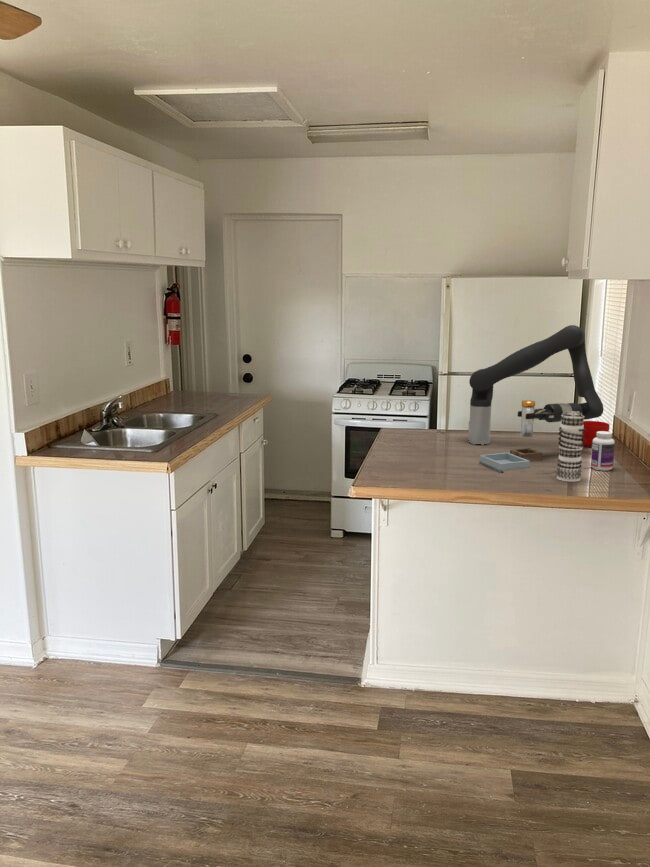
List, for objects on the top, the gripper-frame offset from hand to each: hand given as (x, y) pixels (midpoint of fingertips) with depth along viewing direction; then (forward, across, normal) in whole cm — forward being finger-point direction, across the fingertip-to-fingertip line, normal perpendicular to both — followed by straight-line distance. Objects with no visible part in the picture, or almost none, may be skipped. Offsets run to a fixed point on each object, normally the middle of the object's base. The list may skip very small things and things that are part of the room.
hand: (522, 415), depth 285 cm
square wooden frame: (-3, 0, +19) cm, 19 cm away
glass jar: (-3, 0, +8) cm, 9 cm away
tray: (+11, +5, +19) cm, 22 cm away
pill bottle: (-23, +21, +19) cm, 36 cm away
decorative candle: (-2, +28, +19) cm, 34 cm away
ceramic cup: (-45, -12, +19) cm, 50 cm away
